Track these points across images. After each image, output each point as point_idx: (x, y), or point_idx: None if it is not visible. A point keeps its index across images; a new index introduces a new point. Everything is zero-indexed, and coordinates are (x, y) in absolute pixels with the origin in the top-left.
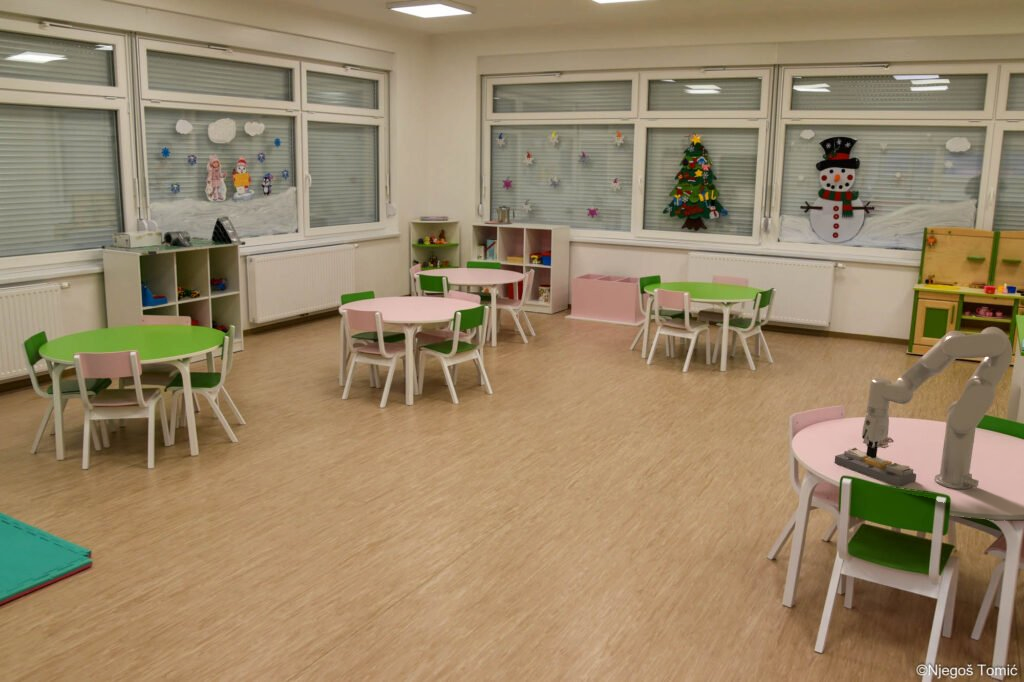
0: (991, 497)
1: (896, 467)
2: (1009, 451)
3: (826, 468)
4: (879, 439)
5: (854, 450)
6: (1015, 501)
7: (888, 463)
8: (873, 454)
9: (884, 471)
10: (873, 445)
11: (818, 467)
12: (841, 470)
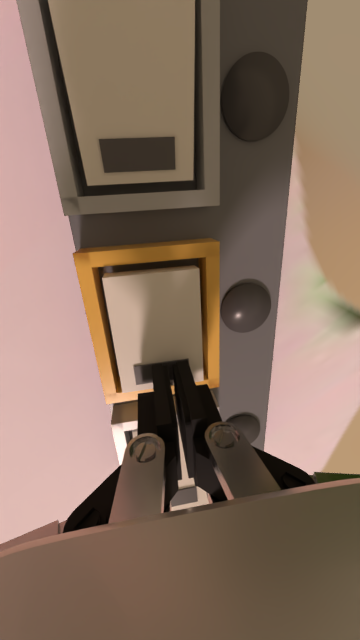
0: None
1: (193, 73)
2: None
3: (328, 409)
4: (244, 530)
5: (184, 486)
6: None
7: (123, 248)
8: (191, 377)
9: (249, 175)
10: (241, 449)
11: (342, 425)
12: (300, 373)
